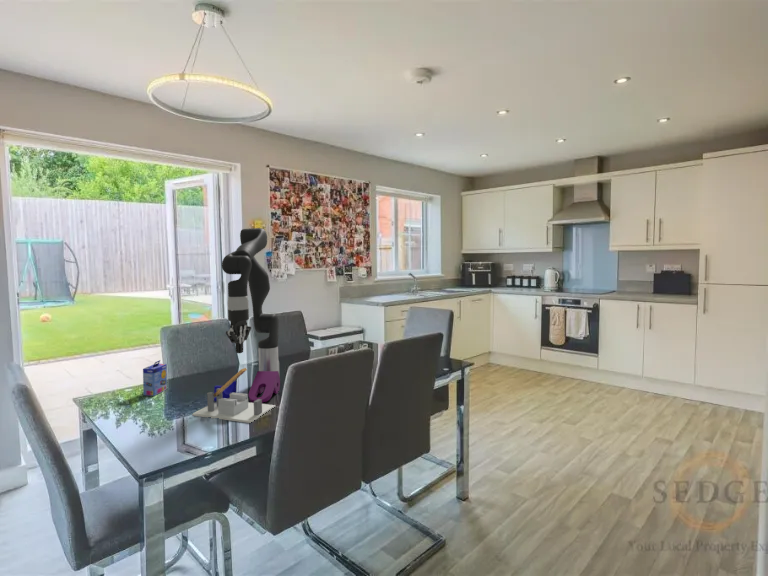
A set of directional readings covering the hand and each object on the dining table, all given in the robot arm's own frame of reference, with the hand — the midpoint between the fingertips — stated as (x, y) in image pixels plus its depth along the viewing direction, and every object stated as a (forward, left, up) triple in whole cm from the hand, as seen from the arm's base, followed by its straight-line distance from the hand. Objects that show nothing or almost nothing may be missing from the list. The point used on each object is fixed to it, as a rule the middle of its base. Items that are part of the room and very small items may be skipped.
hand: (239, 352), depth 163 cm
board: (-1, -4, -24) cm, 24 cm away
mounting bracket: (-20, -3, -25) cm, 32 cm away
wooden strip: (0, -5, -13) cm, 14 cm away
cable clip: (-13, -18, -24) cm, 32 cm away
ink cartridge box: (-11, -53, -24) cm, 59 cm away
